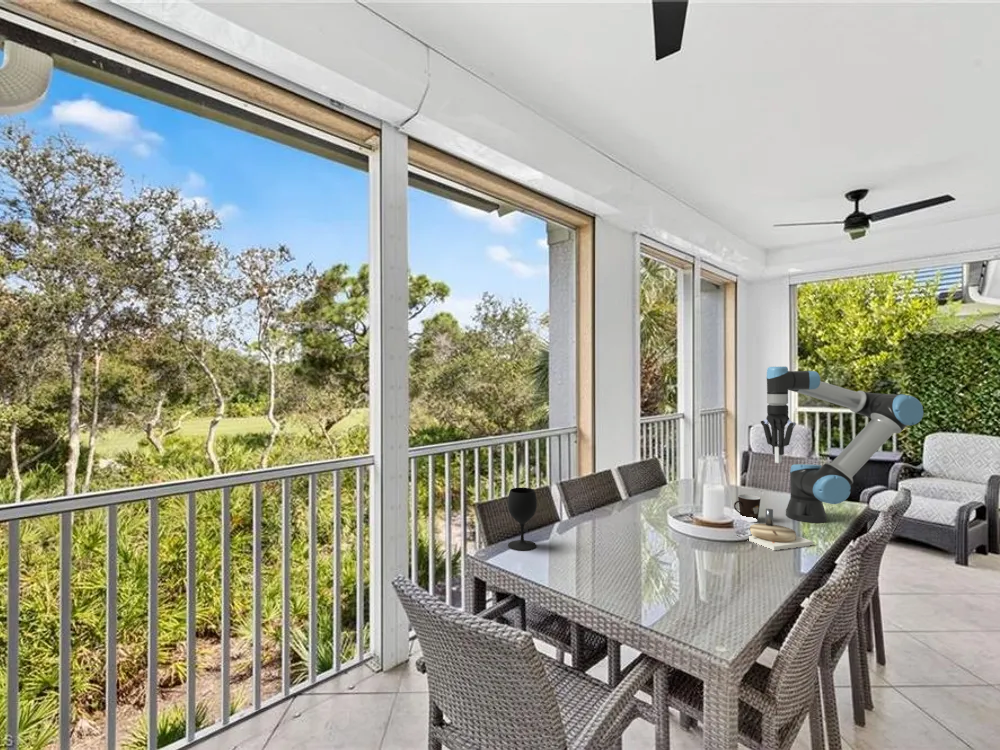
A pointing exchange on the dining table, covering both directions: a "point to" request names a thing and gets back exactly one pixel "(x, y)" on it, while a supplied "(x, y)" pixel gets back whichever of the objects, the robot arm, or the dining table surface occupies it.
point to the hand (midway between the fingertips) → (778, 462)
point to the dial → (772, 530)
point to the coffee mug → (748, 505)
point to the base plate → (781, 543)
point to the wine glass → (522, 514)
